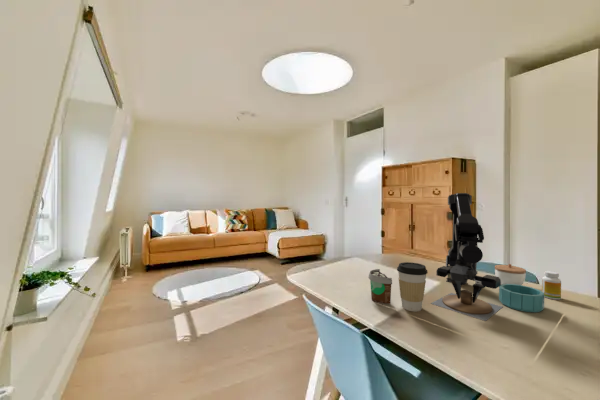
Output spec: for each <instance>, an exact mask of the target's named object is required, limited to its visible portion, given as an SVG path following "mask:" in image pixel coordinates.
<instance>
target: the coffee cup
mask: <svg viewBox="0 0 600 400" xmlns="http://www.w3.org/2000/svg"><path fill="white" fill-rule="evenodd" d="M396 271H397V272H398V286H399V287H398V288H399V294H400V295H399V296H400V302H401V307H402V308H403V309H404V310H405V311H410V312H420V311H422V308H423V302H424V297H425V288H426V282H427V281H426V278H427V275H428V273H429V272H428V269H427V267H426V266H425V265H424V264H422V263H418V262H412V261H411V262H409V261H408V262H407V261H405V262H400V263H399V264H398V266H397V268H396Z"/></svg>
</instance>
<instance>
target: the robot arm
mask: <svg viewBox="0 0 600 400" xmlns="http://www.w3.org/2000/svg"><path fill="white" fill-rule="evenodd" d="M472 197H473V196H472V195H470V193H467V192H456V193H454V194H453V193H452V194H449V195H448V197H447V205H448V206H449V207H448V208H449V209H450V211H451V212H452V243H451V247H450V248H449V249H448V251H447V255H446V258H445V266H444V265H443V266H440V267H438V268H437V269H436V276H437V277H442V278H445V279H446V280H445V281H446V282H447V283H450V284H451V285H452V287H453V289H454V291H455V294H457V297H458V299H460V297H461V290H462V286H463V285H465V284H467V283H468V281H474V282H475V283H473V284H472V288H473V290H472V301H473V303H475V301H476V299H478V297H479V295H480V293H481V291H482V289H484V288H489V289H492V290H493V289H494V290H495V289H499V286H501V280H500V278H499V277H496V275H495V276H494V275H489V274H485V275H483V276H482V275H478V270H477V263H479V262H481V260H483V257H484V255H483V254H484V253H483V251H482V249H481V248H480V247H479V246H478V244H479V243H481V244H482V243H483V242H484V240H485V236H484V235H485V234H484V231H483V227H482V225H481V224H479V221H478V218H477V217H475V216H473V213H472V209H471V205H473V204H472V203H473V200H472Z"/></svg>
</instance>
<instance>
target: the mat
mask: <svg viewBox="0 0 600 400" xmlns="http://www.w3.org/2000/svg"><path fill="white" fill-rule="evenodd" d="M447 295H457V294H456V293H454V292H450V293H448V294H445V296H447ZM443 297H444V296H442V297H440V298H438V299H437V300H434V301H433V302H431V303H430V304H431V305H434V306H436V307H437V306H438V307H440V308H443V309H447V310H448V311H449V310H450V311H453V312H456V313H459V314H462V315H465V316H468V317H471V318H475V319H478V320H480V321H484V322H486V321H487V320H490V318H491V317H492V316H494V315H495V314H496V313H497V312H498V311H500V310H501V309H503V306H501V305H498V304H495V303H491V302H487V303H488V304H490V305H491V306H492V312H491V313H489V314H470V313H464V312H460V311H457V310H454V309H451V308H449V307H447V306H446V305H445V304H444V303H443V302H442V298H443Z"/></svg>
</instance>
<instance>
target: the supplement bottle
mask: <svg viewBox="0 0 600 400" xmlns="http://www.w3.org/2000/svg"><path fill="white" fill-rule="evenodd" d="M559 276H560V274H559V272H557V271H552V270H545V271H544V276H542V278H541V291H542V292H543V293H544V298H545V299H550V300H556V301H558V300H562V280H561V278H559Z"/></svg>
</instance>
